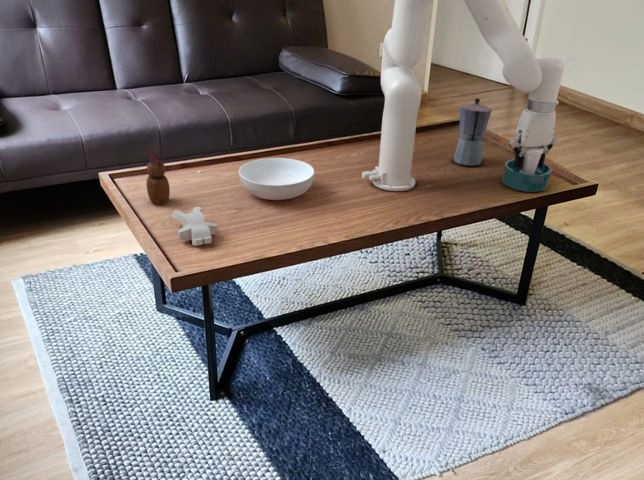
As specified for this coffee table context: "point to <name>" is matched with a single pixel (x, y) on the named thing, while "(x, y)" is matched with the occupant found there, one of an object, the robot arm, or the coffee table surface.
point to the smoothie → (531, 159)
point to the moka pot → (471, 133)
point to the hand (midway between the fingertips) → (528, 166)
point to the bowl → (526, 178)
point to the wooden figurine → (157, 181)
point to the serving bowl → (276, 178)
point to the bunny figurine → (195, 227)
